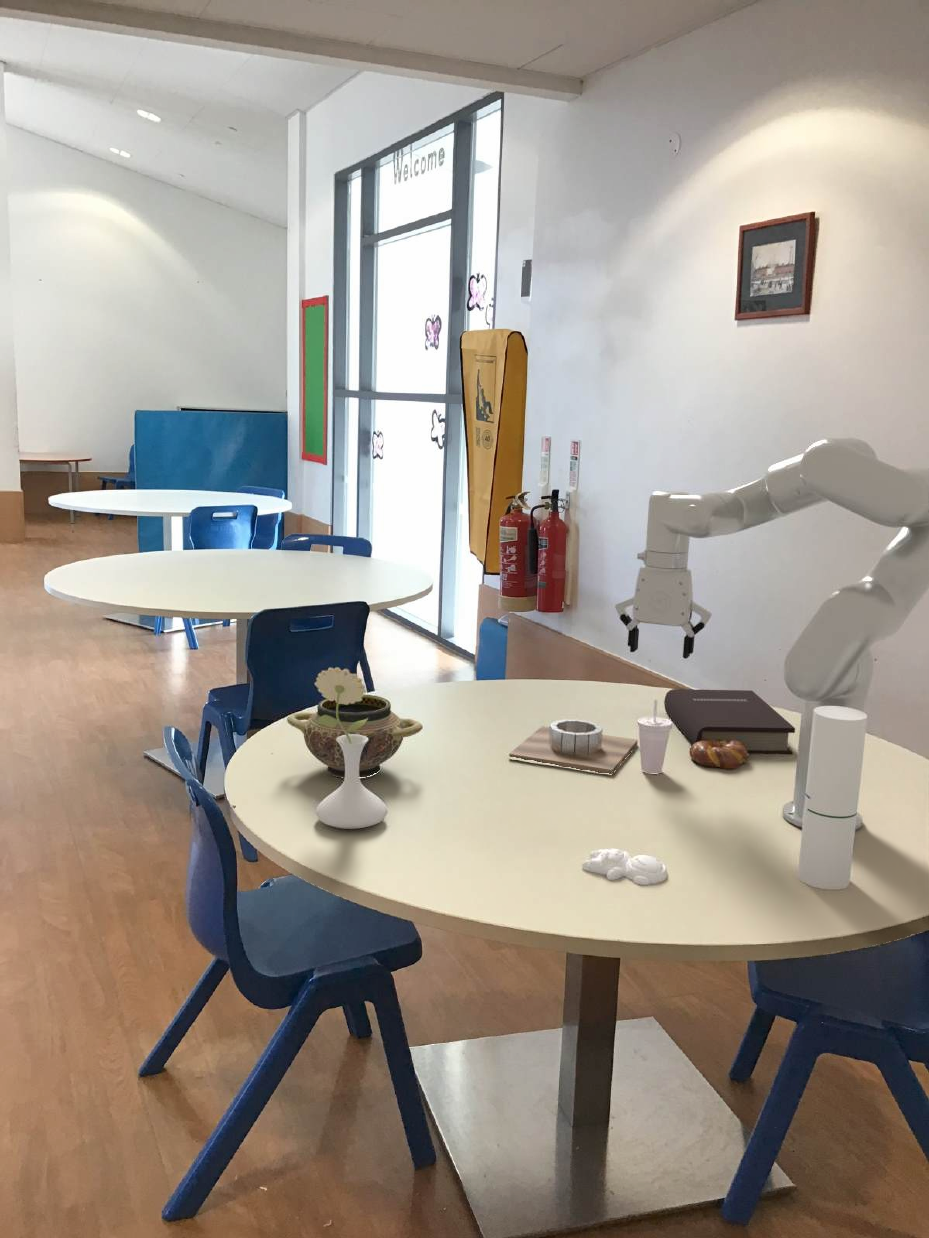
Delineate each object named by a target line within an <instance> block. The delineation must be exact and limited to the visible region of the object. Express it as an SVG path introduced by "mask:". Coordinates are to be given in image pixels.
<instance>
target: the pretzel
mask: <svg viewBox="0 0 929 1238" xmlns="http://www.w3.org/2000/svg"><path fill="white" fill-rule="evenodd" d="M689 756H690V758H691V759H692V760H693V761H695V762H696V763H697V764H700V765H701V766H702V765H703V766H705V767H710V768H721V769H725V770H731V769H735V768H737V767H739V766H741V765H742V764H744V763H746V762H748V759H749V756H750V755H749V754H748V752H747V750H746V749H745V746H744V745H743V744H742V743H741V742H738V741H735V740H733V741H732V740H731V741H730V742H729V743H728V742H726V741H725V740H720V739H719V740H715V741H714V740H709V739H708V740H701V741H699V742H696V743H694V744H693V745H692V744H691V746H690V748H689Z"/></svg>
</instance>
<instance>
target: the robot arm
mask: <svg viewBox="0 0 929 1238" xmlns="http://www.w3.org/2000/svg"><path fill="white" fill-rule="evenodd" d="M648 499H649V501H648V512H647V523H646V524H647V526H646V528H647V529H646V541H645V542H646V543H645V549H644V550H643V551H638V552H637V553H636V554H637V555H636V559H637V560H641V561H643V564H644V565H642V566H640V567H639V569H638V573H637V578H636V583H635V589H634V596H633V597H630V598H628V599H625V600H623V601H620V602H618V603H617V604H615V605H614V606H615V610H616V613H617V614H618V616H619V619H620V621H621V622H622V624H623V625H625V627H626V630H628V634H627V635H628V636H627V647H629V648H630V649H629V651H630V653H635V652H636V651H637V650H638V648H639V639H640V638H639V636H640V635H639V634H640V629H639V627H638V625H640V623H643V624H651V625H660V626H668V627H671V626H672V627H681V628H682V629H683V631H684V632H685V634H686V635H685V636H684V638H683V650H682V658H683V659H686V660H687V659H688V658H689V657H690V655H691V654H693V653H694V647H695V636H696V635H697V634H698V633H700V631H702V630H703V629H705V627H706V625H707V624H708V623H709V621H710V620H711V618H712V616H713V614H712V613H711V611H708V609H705V608H704V607H702V606H701V605H699V604H698V603H696V602H695V601H693V598H694V597H693V596H694V595H693V580H692V579H693V577H692V570H691V569H690V568H688V562H689V549H690V537H691V538H695V539H708V538H713V537H719V536H728V535H731V534H736V533H739V532H742V531H745V530H748V529H750V528H753V527H756V526H760V525H762V524H763V525H764V524H765V523H769V522H771V521H774V520H776V519H779V518H784V517H787V516H789V515H791V514H794V513H796V512H800V511H802V510H805V509H809V508H810V507H814V506H817V505H819V504H822V503H826V502H828V501H829V502H831V503H833V504H835V505H837V506H839V507H841V508H844V509H846V510H847V511H849V512H852V513H854V514H856V515H858V516H860V517H863V518H864V519H866V520H869V521H870V522H873V523H875V524H877V525H879V526H884V527H887V528H895V529H897V528H898V529H900V528H901V529H900V531H899V532H898V534H897V535H896V536H895V537H894V538H893V539H892V540H891V542H889V544H888V545H887V546H886V547H885V548H884V550H883V551H882V552H881V554H880V556H879V557H878V558H877V560H876V562H875V563H874V565H872V567H870V569H869V571H868V572H867V574H865V576H864V577H863V578H862V579H860V580H859V581H857V582H856V583H853V584H848V585H845V586H843V587H841V588H839V589H837V590H835V591H834V592H833V593H831V594H830V595H829V596H828V597H827V598H826V599H825V600H824V601H823V603H821V605H820V606H819V607H818V609H816V612H815V613H814V615H813V616H812V617H811V619H810V621H808V623H807V625H806V626H805V627H804V629H803V630H802V631H801V633H800V634H799V636H798V637H797V639H796V640H795V642H794V643H793V644H792V646H791V647H790V649H789V651H788V652H787V654H786V657H785V658H784V659H785V660H784V662H783V669H782V671H783V672H782V673H783V674H782V675H783V679H784V682H785V684H786V686H787V689H789V691H790V692H791V693H792V694H793V695H795V696H796V697H797V698H799V699H801V700H803V704H802V705H803V706H802V709H801V710H802V711H801V719H800V726H799V736H798V738H799V739H798V746H797V747H798V749H797V759H796V768H795V777H794V779H795V781H794V789H793V799H792V801H789V802H787V803H784V805H783V806H782V812H781V813H782V817H783V818H785V820H786V821H787V822H788V823H791V824H793V825H795V826H796V827H799V828H802V826H803V815H804V805H805V794H806V784H807V774H808V764H809V754H810V743H811V733H812V722H813V712H814V709H815V708H816V707H820V706H841V707H848V708H852V709H856V710H859V711H862V712H864V713H865V710H866V704H867V700H868V695H869V691H870V687H871V683H872V678H873V675H874V674H873V673H874V660H873V659H874V658H873V653H872V652H871V647H872V645H874V644H876V643H878V642H881V641H883V640H886V639H887V638H890V637H892V636H893V635H894V634H896V633H897V632H898V631H899V630H900V628H901V627H902V626H903V624H904V623H905V621H906V620H907V619H908V617H909V616H910V614H911V613H912V611H913V610H914V608H915V607H916V606H917V605H918V603H919V602H920V601H921V600H922V598H923V597H924V595H925V594H926V593H927V591H928V590H929V467H912V468H911V467H909V468H898V467H896V466H894V465H891V464H889V463H887V462H884V461H881V460H879V459H878V456H877V454H876V452H875V450H874V448H873V447H872V446H871V445H870V444H869V443H868V442H865V441H864V440H862V439H860V438H853V437H833V438H832V437H830V438H829V437H828V438H823V439H822V440H818V441H816V442H814V443H813V444H812V445H810V446H809V447H808V448H807V449H806V450H805V451H804V453H801V454H799V455H796V456H793V457H791V458H788V459H785V460H782V461H780V462H777V463H775V464H772V465H771V466H769V468H768V469H767V470H766V472H765V475H764V476H763V477H761V478H759V479H757V480H755V481H753V482H750V483H748V484H744V485H742V486H739V487H736V488H733V489H730V490H727V491H723V492H707V493H701V494H698V493H697V494H689V493H687V492H684V491H680V490H679V491H678V490H657V491H654V492H652V493H651V494H650V496H649V498H648ZM628 607H632V617H630V615H629V614H628V613H627V610H626V609H627V608H628ZM693 612H694V613H696V614H697V615H699V616H700V620H699V622H698V623H697V624H696V625H694V624H693V623H692V621H691V619H692V617H693ZM862 825H863V816H862V815H861V814H860V813H859V812H858V811H857V817H856V826H855V832H856V831H857V830H859V829H861V828H862Z"/></svg>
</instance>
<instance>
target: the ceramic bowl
mask: <svg viewBox="0 0 929 1238" xmlns="http://www.w3.org/2000/svg"><path fill="white" fill-rule="evenodd" d="M361 698H362V701H358V702H355V703H354V704H351V703H349V704H348V705H345V704H339V706H338V717H339V720H340V722H341V724H342V725H343V727H344V729H345V730H347V729H348V728H349V727H350V726H351V725H352V724H353V723H355V722H357V721H361V720H365V719H367V718H368V720H367V721H366V723H365V724H364V725H363V726H362V727H360V728H359V729H357V730H354V731H346V732H347V733H348V735H349V734H356V735H363V736H365V737H367V738H368V741H367V743H366V744H365V745H364V747H363V750H362V752H361V756H360V763H359V777H367V776H370V775H373V774H374V773H377V772H378V771H379V770H380V767H381V765H382V764H383V763H385V762H387V761H388V760H389V759H391V758H393V756H394V755H395V754H396V753H397V752H398V750H399V748H400V747H401V745H402V743H403V741H404V738H408V737H409V738H410V737H412V736H414V735H416V734H419V733H420V732H421V731H422V730H423V724H422V723H421V722H420V721H418V720H414V719H411V718H401V717H400V716H398V715H397V714H396V713H394V712H393V711H391V707H392V706H391V704H392V703H391V701H389V700H388V699H386V698H384V697H381V696H378V695H372V694H364V696H363V697H361ZM336 705H337V703H336V701H335V700H334V701H329V700H328V699H327V698H325V699H323V700H321V701H319V702H318V704H317V711H316V712H303V711H301V712H294V713H291V714H290V715H289V716H287V719H286V721H287V723H288V724H289V725H290V726H292V728H293V727H294V728H296V729H297V730H299V731H300V732H301V733H302V734H303V738H304V743H305V745H306V747H307V750H309V752H310V753H311V754H312V755H313V756H314V758H315V759H316V760H318V761H320V763H322V764H323V765H326V766H327V772H328V774H330V773H331V774H332V775H333V776H332V775H331V774H330V775H331V776H332V777H334V776H336V777H335V778H337V777H343V778H345V761H344V755H343V751H342V748H341V746H340V745H339V743H338V742H337V740H336V739H337V738H338V737H339V736H342V735H346V734H345V733H344V731H343V730H342V728H341V726H340V725H339V723H338V724H337V725H336V726H335V727H333V728H331V727H327V726H325V725H321V724H317V723H315V722H316V721H317V720H318V719H319V718H320V717H321V716H323V715H328V716H331V717H333V718H335V719H337V718H336Z"/></svg>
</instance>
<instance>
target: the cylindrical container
mask: <svg viewBox="0 0 929 1238" xmlns="http://www.w3.org/2000/svg"><path fill="white" fill-rule="evenodd" d="M867 722H868V714H867V713H866V712H865V711H864V712H862V711H859V710H856V709H852V708H848V707H841V706H820V707H816V708H815V709H814V712H813V722H812V733H811V743H810V754H809V764H808V774H807V784H806V794H805V805H804V815H803V826H802V827H801V836H800V837H801V838H800V839H801V840H800V845H799V846H800V847H799V848H800V849H799V859H798V866H797V868H798V869H797V878H798V880H800V881H801V882H803V883H804V884H806V885H808V886H811V887H814V888H817V889H821V890H826V891H827V890H828V891H829V890H831V891H832V890H833V891H834V890H842V889H846V888H848V887H849V886H850V882H851V881H850V880H851V873H852V872H851V871H852V864H853V863H852V862H853V854H854V853H853V852H854V843H855V834H856V831H855V826H856V817H857V812H858V809H859V808H858V805H859V797H860V788H861V778H862V769H863V760H864V752H865V751H864V750H865V742H866V732H867V731H866V730H867Z"/></svg>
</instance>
